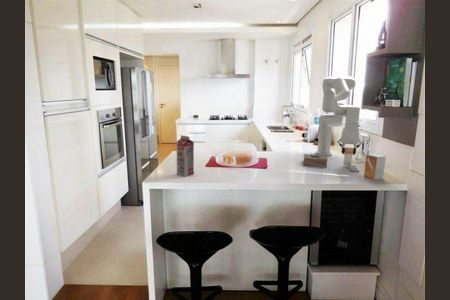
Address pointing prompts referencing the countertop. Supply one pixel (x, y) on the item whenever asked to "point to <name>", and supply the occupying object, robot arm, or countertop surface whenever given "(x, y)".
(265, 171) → the countertop surface
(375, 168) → the small box
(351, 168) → the mat
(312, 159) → the socket block
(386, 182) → the countertop surface
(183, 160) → the juice carton
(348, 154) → the plug
